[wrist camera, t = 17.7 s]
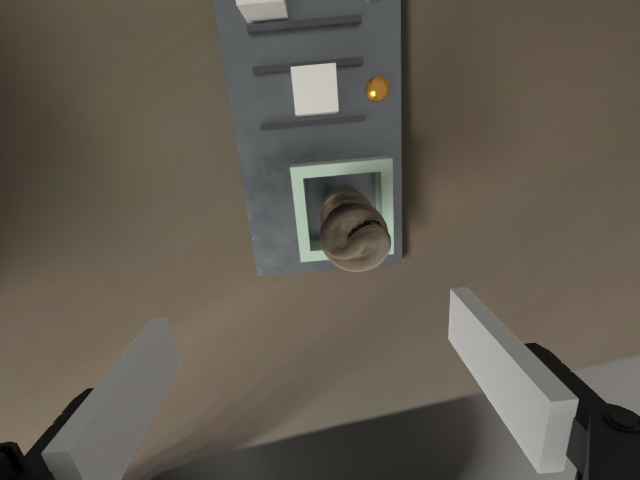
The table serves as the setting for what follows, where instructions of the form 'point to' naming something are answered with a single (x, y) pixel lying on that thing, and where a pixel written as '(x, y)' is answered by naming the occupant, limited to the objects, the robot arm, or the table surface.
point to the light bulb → (353, 231)
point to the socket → (332, 168)
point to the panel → (311, 131)
